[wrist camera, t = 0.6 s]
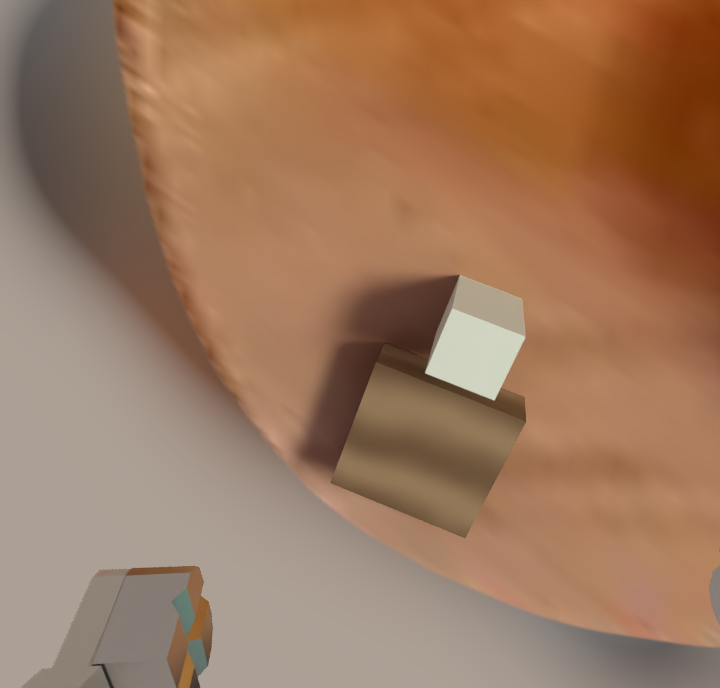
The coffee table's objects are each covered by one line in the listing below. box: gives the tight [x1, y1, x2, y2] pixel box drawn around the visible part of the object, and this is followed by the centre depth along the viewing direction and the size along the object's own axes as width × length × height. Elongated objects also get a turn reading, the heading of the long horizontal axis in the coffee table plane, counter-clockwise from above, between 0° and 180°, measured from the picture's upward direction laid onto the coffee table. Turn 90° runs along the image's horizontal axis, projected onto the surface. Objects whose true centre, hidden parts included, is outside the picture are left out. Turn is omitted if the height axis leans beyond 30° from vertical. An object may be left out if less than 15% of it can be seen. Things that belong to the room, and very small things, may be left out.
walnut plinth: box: [331, 343, 526, 538], centre depth 51 cm, size 12×12×4 cm
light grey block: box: [425, 275, 526, 401], centre depth 44 cm, size 5×5×8 cm
